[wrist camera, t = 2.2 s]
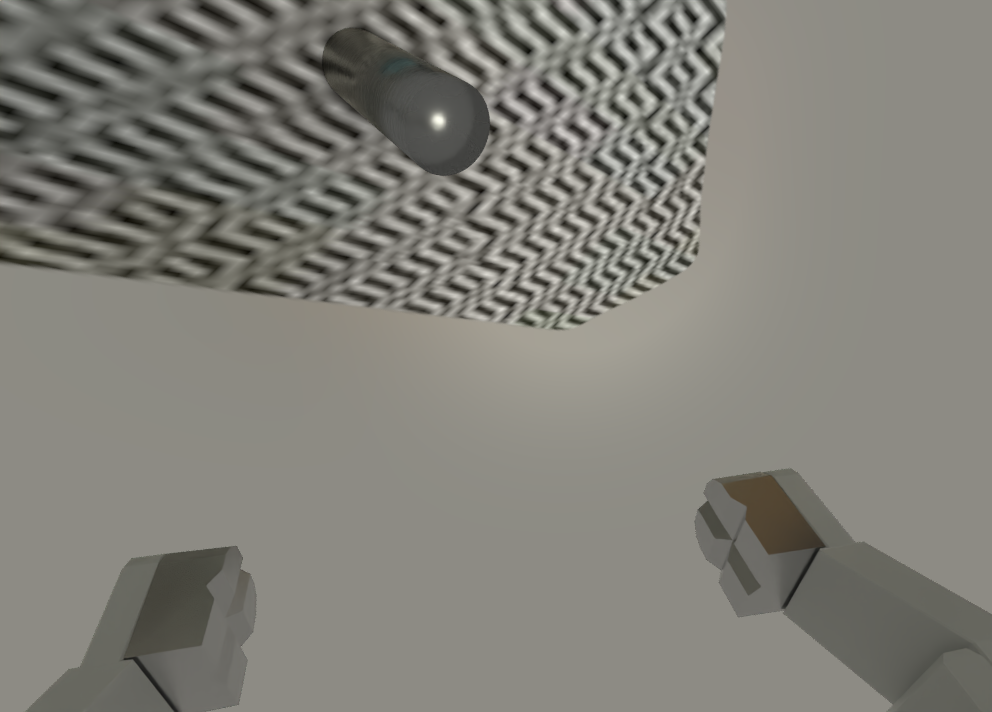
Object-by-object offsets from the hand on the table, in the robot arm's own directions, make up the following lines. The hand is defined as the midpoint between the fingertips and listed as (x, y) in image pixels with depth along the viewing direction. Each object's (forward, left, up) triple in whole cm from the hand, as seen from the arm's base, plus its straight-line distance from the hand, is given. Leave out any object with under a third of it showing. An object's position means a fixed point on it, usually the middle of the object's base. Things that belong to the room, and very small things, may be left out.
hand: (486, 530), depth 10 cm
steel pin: (+7, +1, -32) cm, 33 cm away
